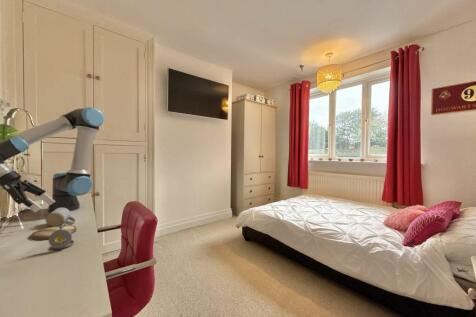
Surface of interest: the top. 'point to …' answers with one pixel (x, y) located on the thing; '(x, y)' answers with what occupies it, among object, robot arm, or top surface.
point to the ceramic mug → (59, 217)
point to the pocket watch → (61, 238)
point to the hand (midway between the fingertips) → (46, 206)
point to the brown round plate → (50, 232)
